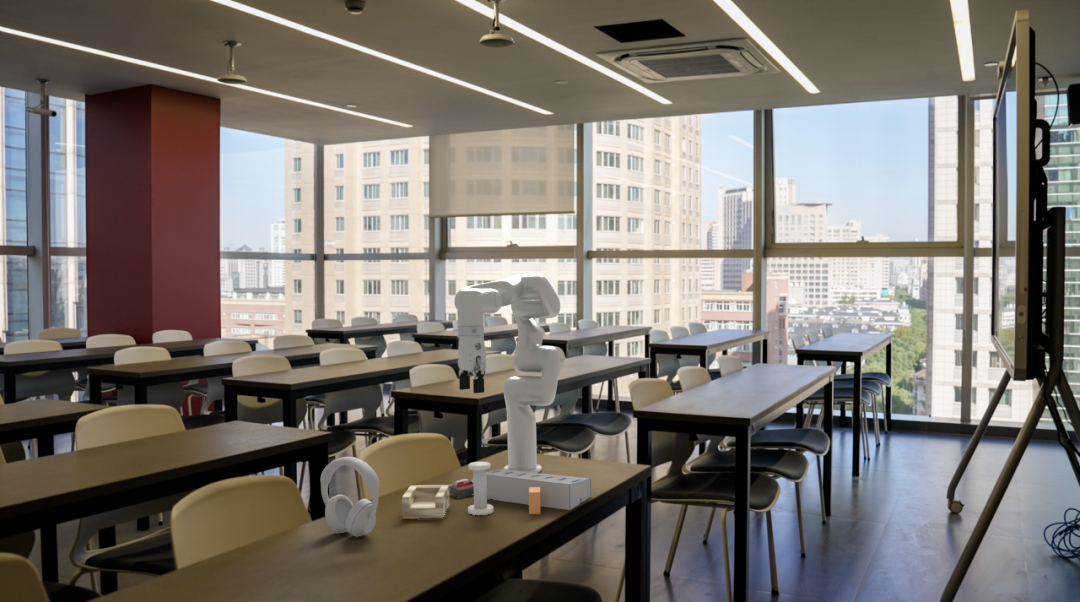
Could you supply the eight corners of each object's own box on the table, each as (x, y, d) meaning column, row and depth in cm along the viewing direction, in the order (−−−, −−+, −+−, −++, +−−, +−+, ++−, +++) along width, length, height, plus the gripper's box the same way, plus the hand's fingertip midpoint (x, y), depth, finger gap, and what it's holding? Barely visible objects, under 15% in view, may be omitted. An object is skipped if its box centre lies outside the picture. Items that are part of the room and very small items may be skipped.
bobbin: (469, 508, 218) (468, 461, 217) (494, 507, 218) (493, 461, 217) (466, 515, 211) (465, 467, 210) (492, 515, 211) (490, 467, 210)
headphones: (389, 535, 196) (386, 457, 196) (367, 545, 189) (365, 464, 189) (336, 525, 205) (333, 450, 205) (313, 534, 199) (311, 456, 198)
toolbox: (477, 485, 242) (421, 498, 230) (477, 471, 242) (420, 483, 230) (493, 491, 236) (436, 505, 223) (493, 477, 235) (436, 489, 223)
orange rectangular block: (530, 508, 216) (529, 487, 216) (540, 508, 216) (540, 487, 216) (529, 514, 211) (528, 492, 211) (540, 514, 211) (539, 492, 211)
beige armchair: (411, 506, 221) (410, 485, 221) (449, 505, 221) (449, 484, 220) (402, 519, 209) (401, 497, 209) (443, 519, 209) (442, 496, 208)
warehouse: (591, 497, 227) (590, 472, 226) (570, 511, 214) (569, 484, 214) (502, 486, 241) (502, 462, 240) (477, 499, 228) (477, 473, 228)
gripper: (495, 332, 219) (496, 393, 220) (470, 330, 234) (471, 387, 235) (471, 333, 216) (472, 395, 216) (447, 331, 231) (448, 388, 231)
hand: (471, 391), depth 225 cm, fingers open, 9 cm apart
